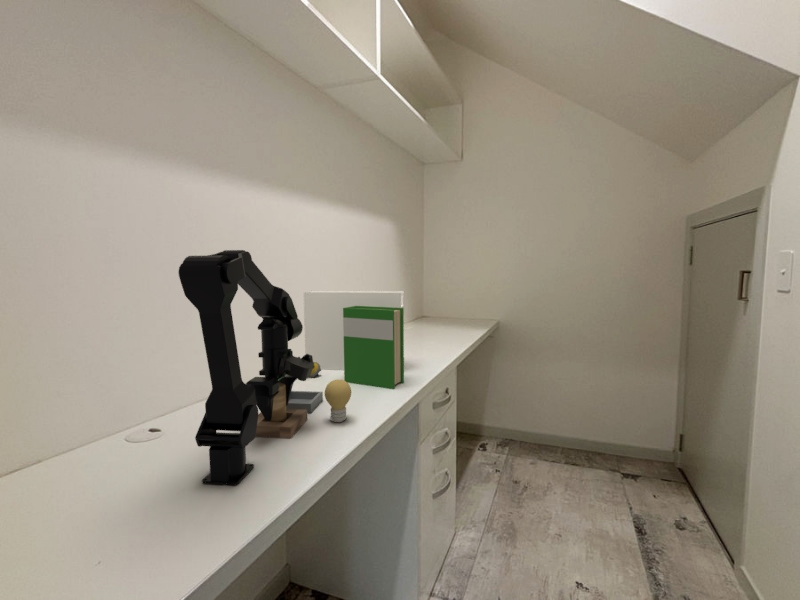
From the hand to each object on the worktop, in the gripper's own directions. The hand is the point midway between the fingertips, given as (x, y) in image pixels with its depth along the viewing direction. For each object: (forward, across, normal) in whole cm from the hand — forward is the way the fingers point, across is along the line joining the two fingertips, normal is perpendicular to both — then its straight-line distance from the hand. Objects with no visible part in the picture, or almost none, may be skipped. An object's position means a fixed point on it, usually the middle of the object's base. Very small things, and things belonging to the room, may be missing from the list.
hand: (277, 412), depth 92 cm
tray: (+4, +14, 0) cm, 14 cm away
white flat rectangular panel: (+4, +54, -6) cm, 54 cm away
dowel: (+4, 0, 0) cm, 4 cm away
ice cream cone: (+4, +41, +6) cm, 42 cm away
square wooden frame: (+4, 0, 0) cm, 4 cm away
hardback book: (+4, +37, -16) cm, 40 cm away
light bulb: (+4, +6, -13) cm, 15 cm away
